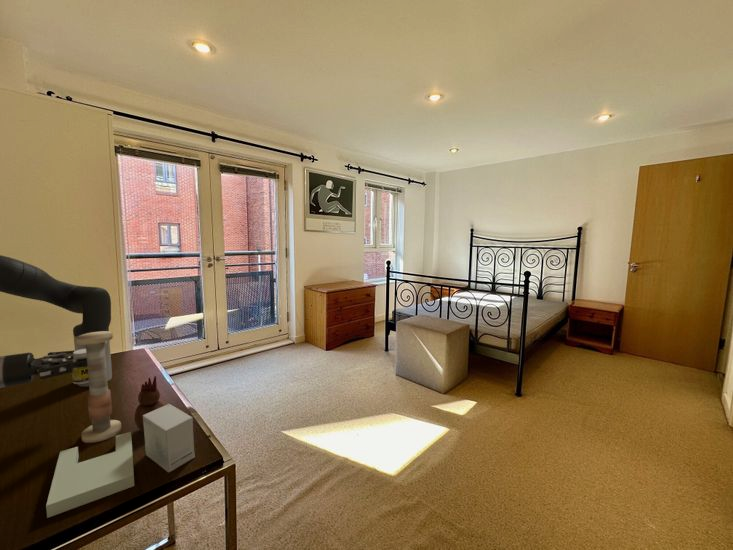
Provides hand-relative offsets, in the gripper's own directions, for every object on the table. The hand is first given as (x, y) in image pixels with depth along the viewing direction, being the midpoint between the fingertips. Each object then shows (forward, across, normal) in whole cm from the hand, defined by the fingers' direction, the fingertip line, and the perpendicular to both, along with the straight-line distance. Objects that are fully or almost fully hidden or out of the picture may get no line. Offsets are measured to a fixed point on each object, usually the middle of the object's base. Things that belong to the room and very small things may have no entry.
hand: (95, 357), depth 88 cm
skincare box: (+14, -30, +18) cm, 37 cm away
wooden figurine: (+11, -14, +18) cm, 25 cm away
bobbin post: (+1, -9, +18) cm, 20 cm away
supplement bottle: (-3, 0, +6) cm, 7 cm away
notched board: (0, -26, +18) cm, 32 cm away
